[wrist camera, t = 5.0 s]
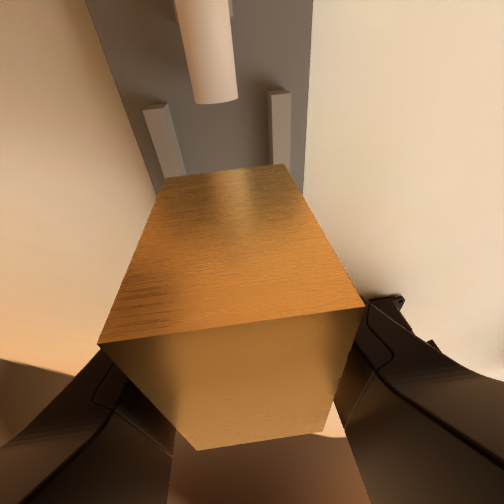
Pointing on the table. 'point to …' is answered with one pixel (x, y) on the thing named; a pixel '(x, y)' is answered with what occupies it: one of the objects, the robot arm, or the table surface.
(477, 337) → the table surface
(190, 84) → the shaft stand
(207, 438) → the block
